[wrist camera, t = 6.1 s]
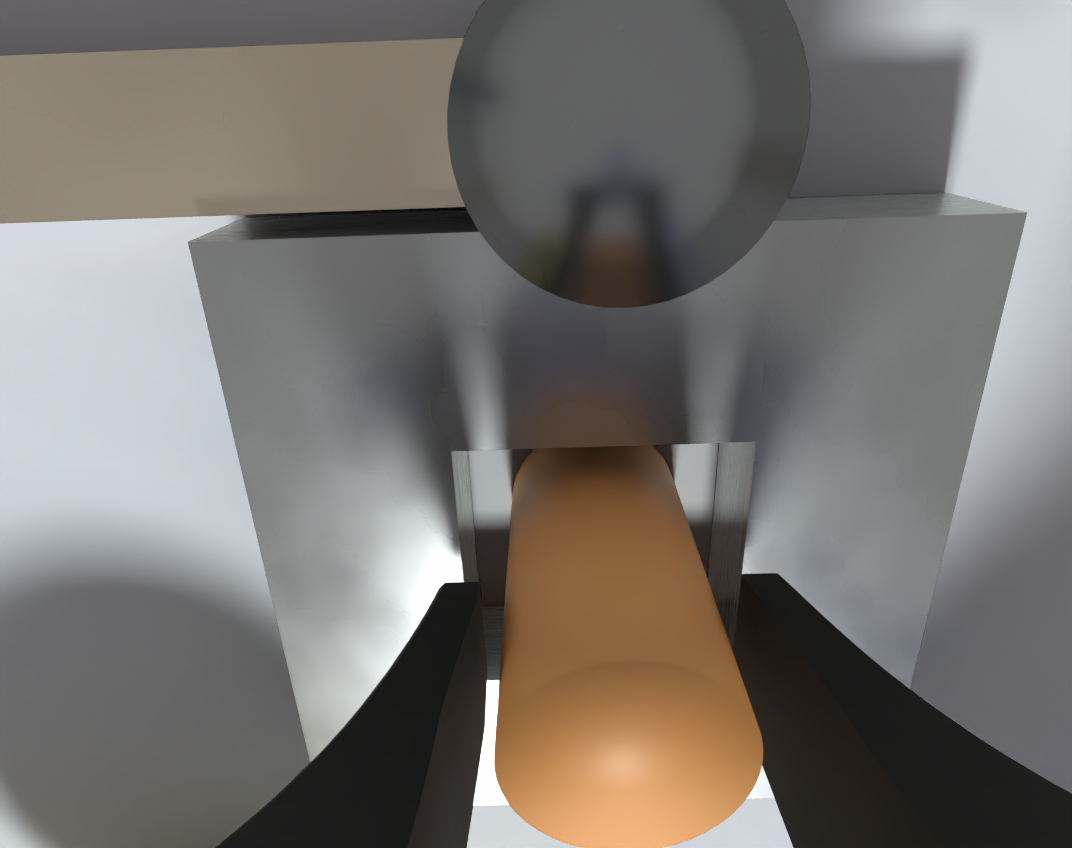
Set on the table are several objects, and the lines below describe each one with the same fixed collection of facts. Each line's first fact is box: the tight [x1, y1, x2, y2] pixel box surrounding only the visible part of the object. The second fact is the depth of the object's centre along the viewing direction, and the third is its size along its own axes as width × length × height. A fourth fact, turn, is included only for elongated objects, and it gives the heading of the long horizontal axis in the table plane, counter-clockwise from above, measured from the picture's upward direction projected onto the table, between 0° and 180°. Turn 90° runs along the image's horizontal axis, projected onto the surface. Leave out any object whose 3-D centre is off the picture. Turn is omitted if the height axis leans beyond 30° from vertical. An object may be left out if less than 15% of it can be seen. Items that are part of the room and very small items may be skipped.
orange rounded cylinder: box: [494, 445, 763, 848], centre depth 13 cm, size 4×4×7 cm
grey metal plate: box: [0, 0, 1027, 806], centre depth 13 cm, size 16×20×5 cm
